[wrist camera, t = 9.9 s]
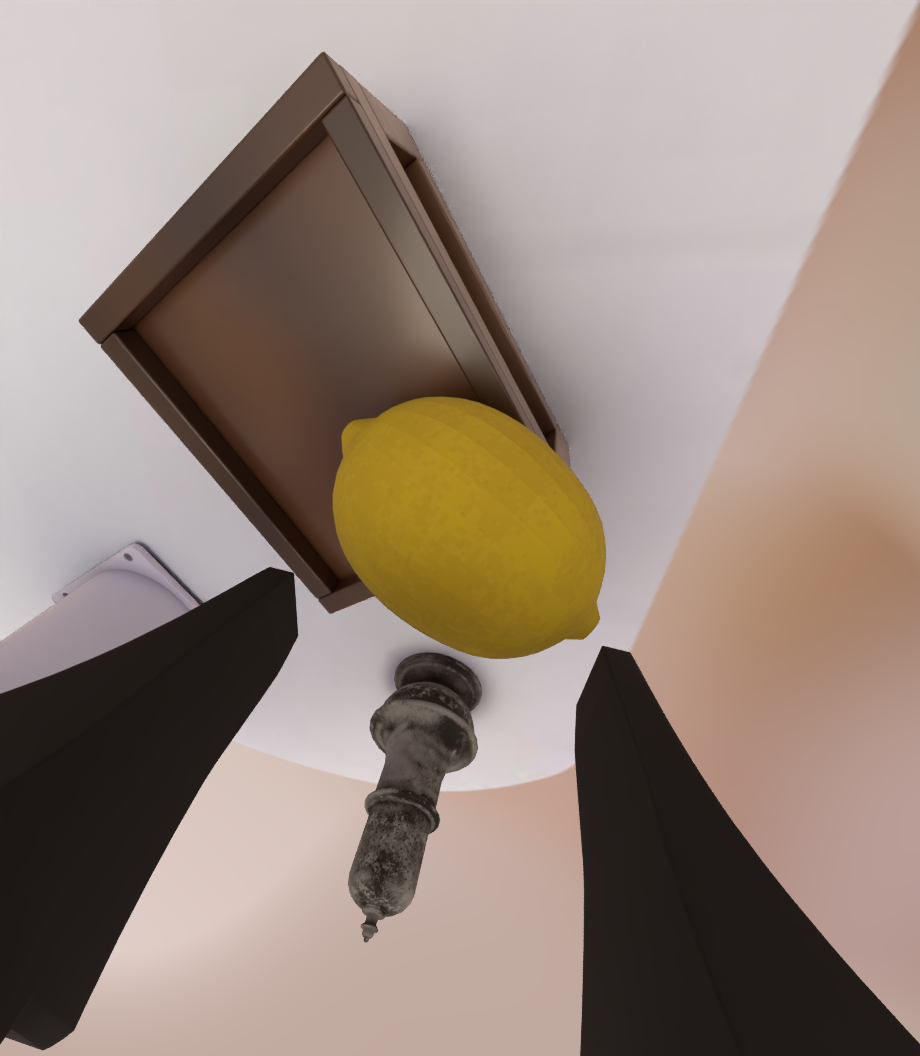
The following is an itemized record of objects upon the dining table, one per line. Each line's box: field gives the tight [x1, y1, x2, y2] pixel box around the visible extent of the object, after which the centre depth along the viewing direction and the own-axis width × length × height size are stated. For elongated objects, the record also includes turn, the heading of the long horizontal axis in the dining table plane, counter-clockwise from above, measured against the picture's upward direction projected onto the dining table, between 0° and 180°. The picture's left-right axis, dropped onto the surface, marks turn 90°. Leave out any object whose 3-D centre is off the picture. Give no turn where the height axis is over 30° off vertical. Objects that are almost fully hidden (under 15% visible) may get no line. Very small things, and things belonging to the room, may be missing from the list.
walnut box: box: [79, 52, 570, 614], centre depth 16 cm, size 10×12×6 cm
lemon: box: [333, 397, 606, 659], centre depth 11 cm, size 6×6×8 cm
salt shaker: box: [348, 653, 482, 942], centre depth 22 cm, size 6×6×12 cm
